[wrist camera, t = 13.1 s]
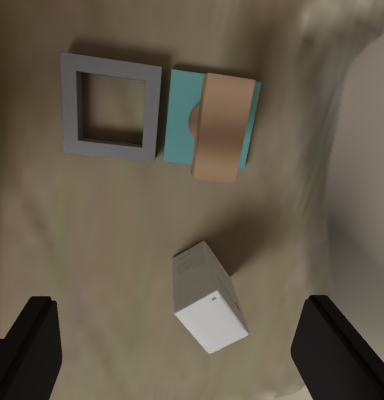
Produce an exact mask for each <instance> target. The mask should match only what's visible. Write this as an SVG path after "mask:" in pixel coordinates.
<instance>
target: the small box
mask: <svg viewBox="0 0 384 400" xmlns="http://www.w3.org/2000/svg"><path fill="white" fill-rule="evenodd" d="M172 276H173V302H174V314H175V316H176V317H177V318H178V319H179V320H180V321H181V322H182V324H183V325H184V326H185V327H186V328H187V329H188V330H189V332H190V333H191V334H192V335H193V336H194V337H195V339H196V340H197V341H198V342H199V343H200V344H201V345H202V347H203V348H204V349H205V350H206V351H207V353H208V354H211V353H213V352H215V351H217V350H219V349H221V348H223V347H225V346H227V345H229V344H231V343H233V342H235V341H237V340H239V339H241V338H243V337H245V336H247V335H249V330H248V327H247V324H246V322H245V319H244V316H243V313H242V310H241V307H240V304H239V301H238V299H237V296H236V293H235V290H234V287H233V284H232V281H231V278H230V276H229V275H228V274H227V272H226V271H225V269H224V268H223V266H222V265H221V263H220V262H219V261H218V259H217V258H216V256H215V255H214V253H213V252H212V250H211V249H210V248H209V246H208V245H207V243H206V242H205V240H204V241H202V242H200V243H199V244H197V245H195V246H193V247H191V248H190V249H188V250H186V251H185V252H183V253H181V254H179V255H177V256H176V257H174V258H172Z"/></svg>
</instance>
